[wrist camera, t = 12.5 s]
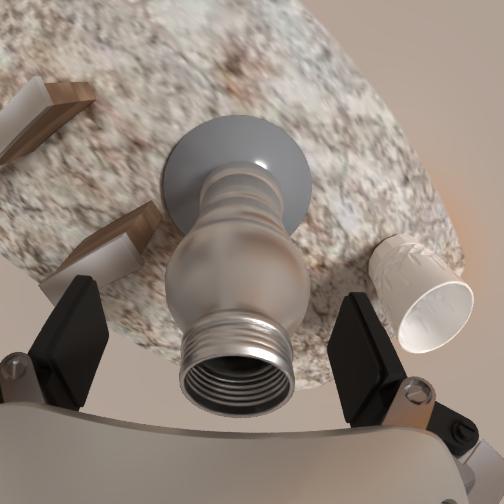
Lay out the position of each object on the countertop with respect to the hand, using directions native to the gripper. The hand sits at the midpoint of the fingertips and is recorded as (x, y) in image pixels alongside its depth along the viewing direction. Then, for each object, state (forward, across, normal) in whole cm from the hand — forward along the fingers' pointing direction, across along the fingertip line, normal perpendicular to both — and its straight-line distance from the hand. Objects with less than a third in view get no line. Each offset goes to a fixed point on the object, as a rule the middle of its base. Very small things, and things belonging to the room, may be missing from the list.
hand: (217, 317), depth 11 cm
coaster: (+18, -1, +1) cm, 18 cm away
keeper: (+18, +14, 0) cm, 23 cm away
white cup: (+18, -18, +7) cm, 26 cm away
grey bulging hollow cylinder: (+17, -1, +1) cm, 17 cm away
